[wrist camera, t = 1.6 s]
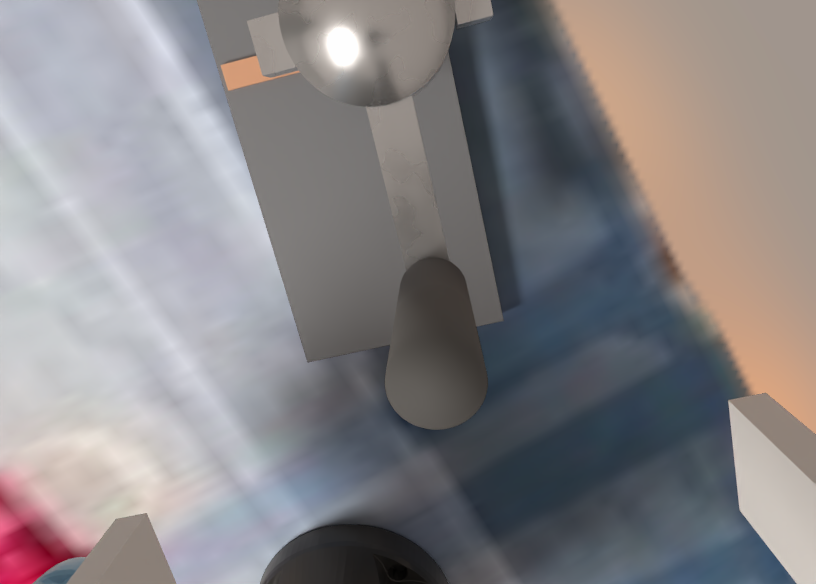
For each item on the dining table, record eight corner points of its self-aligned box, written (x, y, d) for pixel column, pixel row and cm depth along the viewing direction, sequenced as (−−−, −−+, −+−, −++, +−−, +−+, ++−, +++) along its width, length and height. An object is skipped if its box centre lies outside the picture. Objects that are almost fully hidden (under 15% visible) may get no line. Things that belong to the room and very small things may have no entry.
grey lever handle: (536, 283, 33) (607, 397, 20) (346, 324, 34) (294, 458, 21) (466, -89, 28) (500, -269, 15) (246, -28, 29) (96, -145, 16)
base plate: (500, 313, 40) (512, 343, 34) (311, 353, 41) (294, 389, 36) (417, -90, 33) (416, -128, 28) (196, -27, 34) (155, -53, 29)
